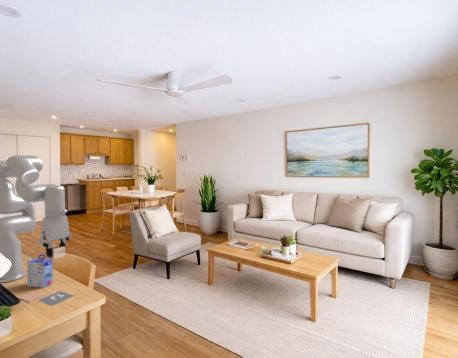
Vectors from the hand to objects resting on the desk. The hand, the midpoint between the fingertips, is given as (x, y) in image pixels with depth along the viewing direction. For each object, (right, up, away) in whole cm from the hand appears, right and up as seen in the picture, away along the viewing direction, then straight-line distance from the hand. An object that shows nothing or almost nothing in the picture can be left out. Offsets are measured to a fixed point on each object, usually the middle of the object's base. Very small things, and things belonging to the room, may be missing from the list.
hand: (56, 254), depth 121 cm
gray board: (0, -19, 0) cm, 19 cm away
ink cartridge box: (-16, -19, +13) cm, 28 cm away
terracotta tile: (-11, -19, 0) cm, 22 cm away
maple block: (0, -1, 0) cm, 1 cm away
